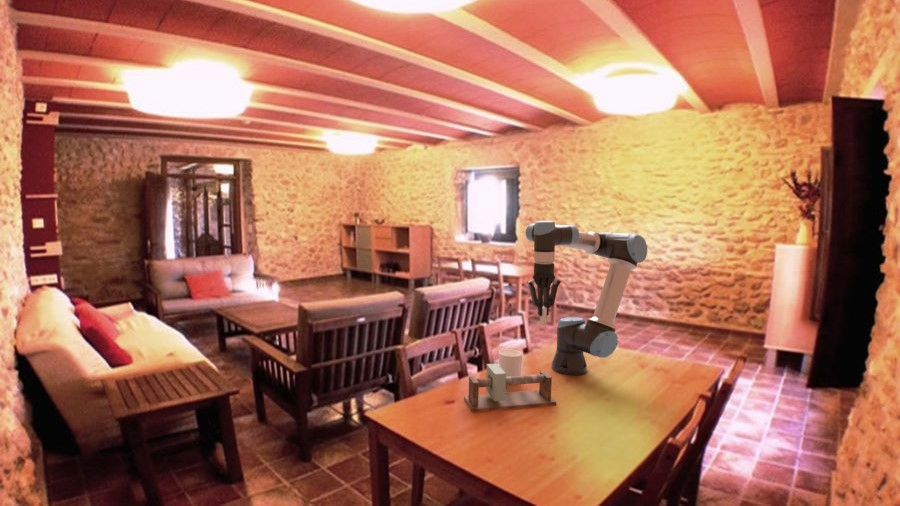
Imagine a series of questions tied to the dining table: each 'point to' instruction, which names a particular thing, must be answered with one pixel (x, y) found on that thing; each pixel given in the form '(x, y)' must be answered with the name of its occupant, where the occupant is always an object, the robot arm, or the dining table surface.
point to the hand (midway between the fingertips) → (543, 323)
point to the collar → (496, 382)
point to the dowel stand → (511, 393)
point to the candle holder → (510, 362)
